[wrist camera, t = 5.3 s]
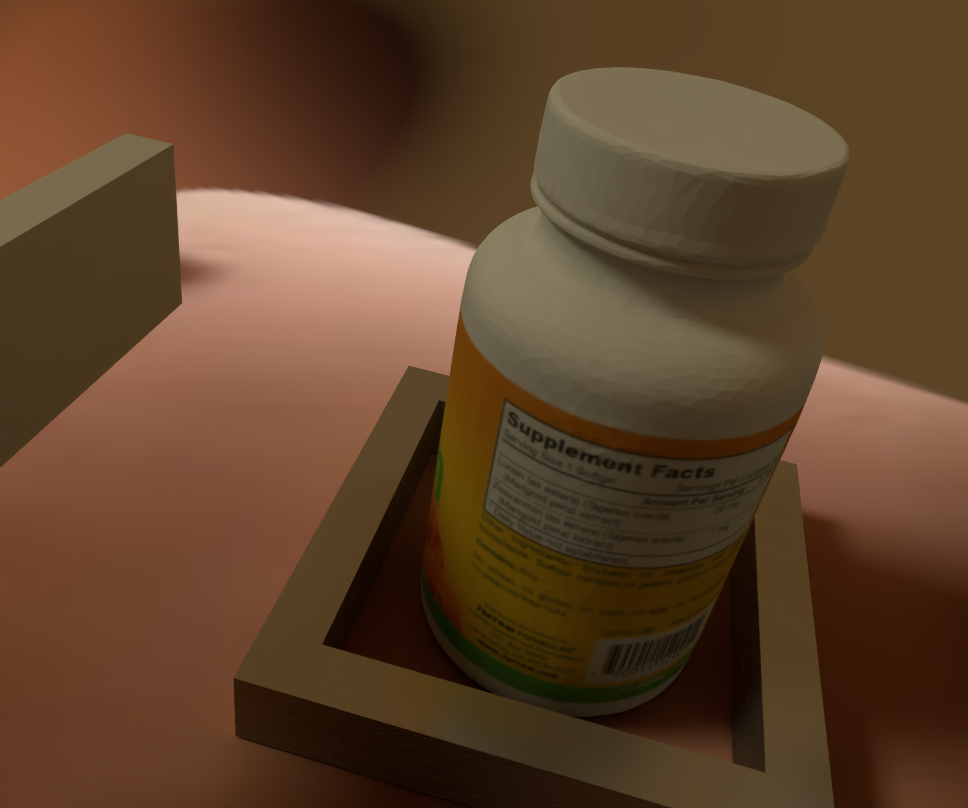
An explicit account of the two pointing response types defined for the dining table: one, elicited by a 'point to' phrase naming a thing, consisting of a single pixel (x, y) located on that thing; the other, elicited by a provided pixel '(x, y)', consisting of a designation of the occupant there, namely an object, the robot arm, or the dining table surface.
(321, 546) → the holder ring
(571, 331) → the supplement bottle
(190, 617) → the dining table surface
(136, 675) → the dining table surface
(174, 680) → the dining table surface
